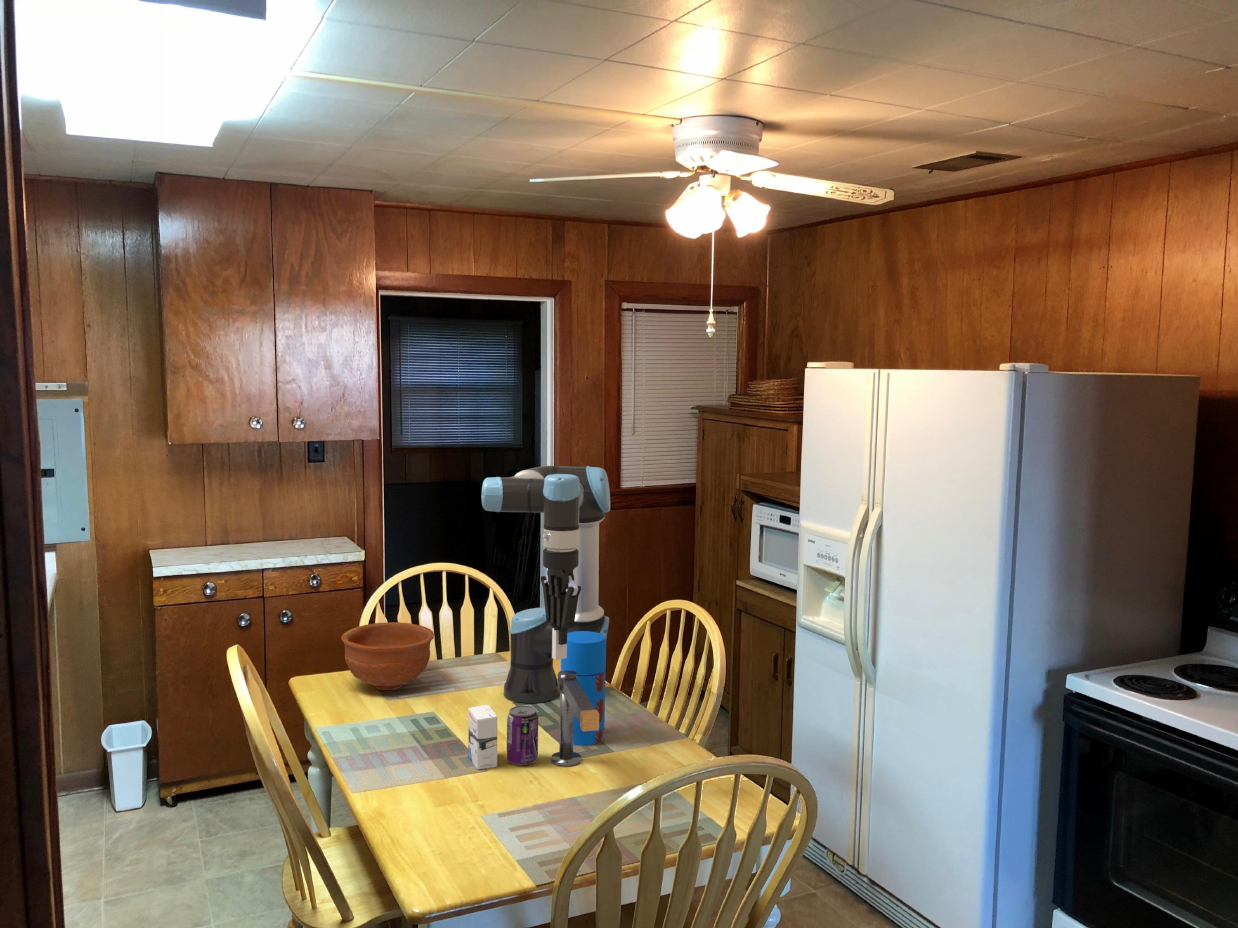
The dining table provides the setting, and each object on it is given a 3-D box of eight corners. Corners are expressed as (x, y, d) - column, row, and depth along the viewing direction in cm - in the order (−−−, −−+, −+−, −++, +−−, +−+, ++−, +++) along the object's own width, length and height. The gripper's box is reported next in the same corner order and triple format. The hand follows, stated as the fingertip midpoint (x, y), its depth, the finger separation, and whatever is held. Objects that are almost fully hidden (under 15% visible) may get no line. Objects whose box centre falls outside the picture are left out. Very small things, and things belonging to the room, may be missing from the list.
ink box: (467, 755, 221) (467, 706, 220) (488, 752, 223) (488, 703, 222) (476, 770, 214) (477, 718, 212) (498, 767, 216) (498, 716, 214)
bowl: (363, 669, 282) (363, 619, 280) (445, 674, 278) (446, 624, 277) (326, 697, 257) (326, 643, 256) (416, 704, 254) (416, 648, 252)
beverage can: (532, 768, 215) (533, 716, 214) (502, 765, 216) (502, 713, 215) (541, 756, 222) (542, 706, 221) (512, 753, 223) (512, 703, 222)
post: (567, 751, 225) (568, 683, 223) (587, 760, 220) (589, 690, 218) (544, 759, 220) (545, 689, 218) (564, 769, 215) (565, 697, 213)
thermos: (550, 736, 234) (552, 636, 231) (581, 725, 242) (583, 628, 239) (582, 749, 226) (584, 646, 224) (613, 737, 234) (615, 637, 232)
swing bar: (556, 686, 220) (556, 670, 219) (574, 685, 221) (575, 669, 221) (580, 731, 193) (580, 713, 193) (601, 729, 194) (601, 712, 194)
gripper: (530, 544, 205) (528, 652, 207) (561, 555, 194) (559, 669, 196) (560, 541, 209) (558, 647, 211) (592, 552, 198) (590, 663, 200)
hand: (559, 657), depth 204 cm, fingers closed
